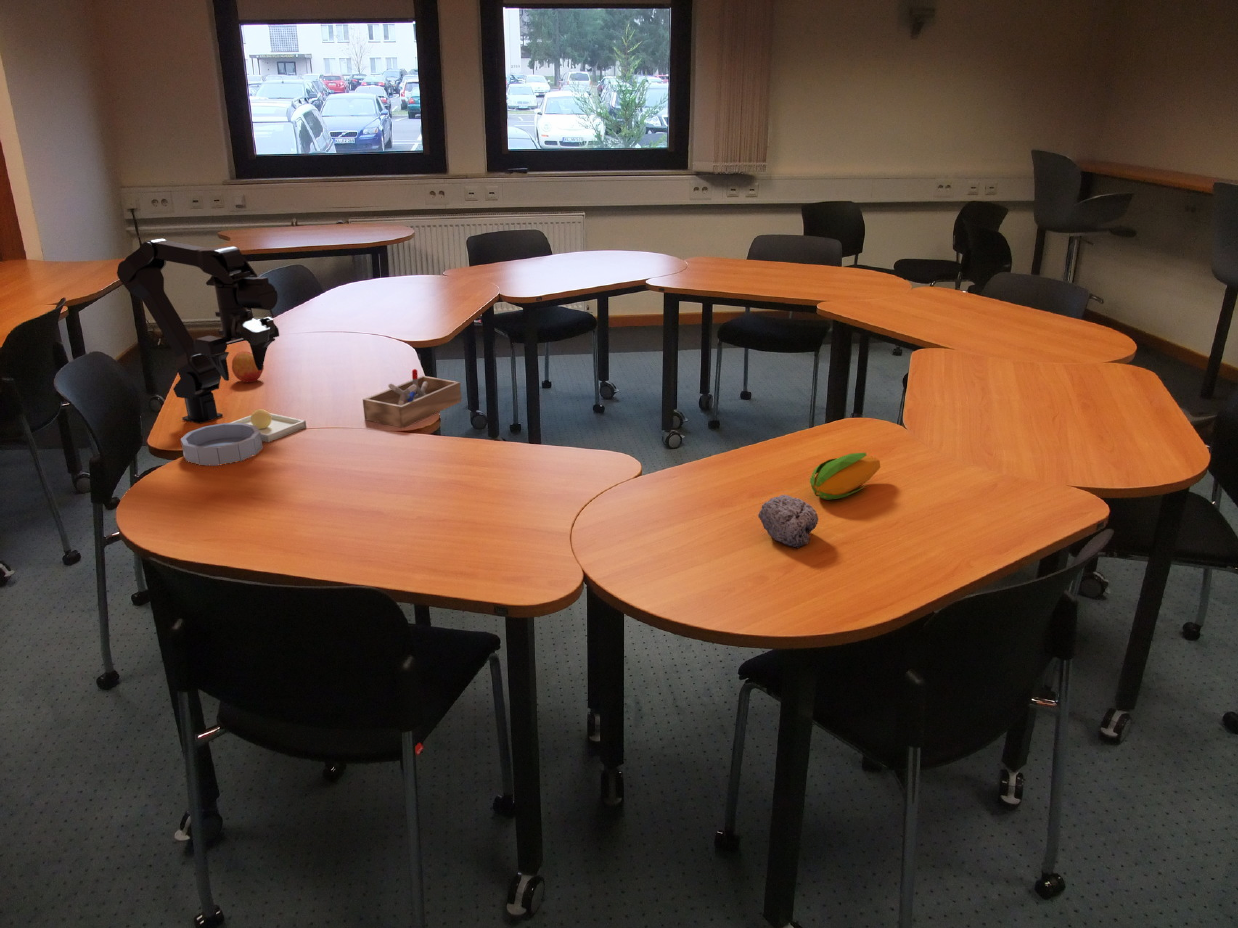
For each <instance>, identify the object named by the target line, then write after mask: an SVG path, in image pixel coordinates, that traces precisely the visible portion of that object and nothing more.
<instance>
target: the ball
mask: <svg viewBox="0 0 1238 928" xmlns="http://www.w3.org/2000/svg"><path fill="white" fill-rule="evenodd" d="M270 413H271V412H269V411H267V410H265V409H260V408H259V409H256V410H254V411H253V413H252V414H251V423H252V424H253V425H254V426H256V427H257V428H259V429H264V428H267V427H268V426H269V425H270V424H271V421H272V418H271V415H270Z"/></svg>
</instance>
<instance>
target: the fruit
mask: <svg viewBox="0 0 1238 928" xmlns="http://www.w3.org/2000/svg"><path fill="white" fill-rule="evenodd" d="M264 367H265V366H264V364H263V368H262V370H258V369H257V367H256V364H255V361H254V358H253V354H252V352H250V351H239V352H238V353H236V354H235V355H234V356H233V359H232V361H231V370H232V373H233V375H234V376H235V378H236V379H238V381H241V382H243V383H247V384H249V383H253V382H257V380H259V379H260V378H261V376H262V373H263V371H264V370H265V369H264Z"/></svg>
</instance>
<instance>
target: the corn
mask: <svg viewBox="0 0 1238 928" xmlns="http://www.w3.org/2000/svg"><path fill="white" fill-rule="evenodd" d="M880 469H881V462H880V459H878V458H876V457H874V456H872V455H869V456H867V453H866V452H853V453H848V454H846V455H842V456H840V457H837V458H830V459H827V460H825V461H824V462H822V463H820V464H819V465H817V466H816V467H815V468H814V470H813V472H812V474H811V476H810V479H809V484H810V485H811V486H810V487H811V489H812V491H813V493H814V495H815V496H816V497H820V498H821V499H823V500H826V501H828V500H829V501H830V500H837V499H841V498H846V497H848V496H850V495H852V494H855V493H857V492H859V491H860V490H862V489H864V488H865V487H867V486H868V484H866V485H864V484H865V483H867V482H868V481H869V480H871V478H873V477H874V476H875V474H876V473H877V472H878V471H879V470H880ZM862 485H864V486H862Z"/></svg>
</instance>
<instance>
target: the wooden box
mask: <svg viewBox="0 0 1238 928" xmlns="http://www.w3.org/2000/svg"><path fill="white" fill-rule="evenodd" d="M423 382H427V383H428V385H427V388H426V391H425V394H427V395H425V396H423V397H420V398H418V399H416V400H413V401H411V402H408V400H407V399H405V401H404V405H398V402H399V399H400V395H399V394H398V393H396V392H395V391H393V390H392V389H390V388H388V389H385V390H383V391H380V392H377V393H375V394H373V395H370V396H368V397H366V398H363V399H362V404H363V405H362V406H363V415H364V420H365V421H369V422H375V423H378V424H382V425H387V426H394V427H398V428H402V429H405V428H406V427H408V426H411V425H413V424H415V423H417V422H420V421H422V420H424V419H425V418H426V419H427V418H428V417H431V416H433V415H435V414H437V413H439V412H441V411H443V410H446V409H449V408H451V407H452V406H455V405H457V404H459V403H462V393H461V392H462V391H461V382H460V381H455V380H449V379H443V378H438V377H432V376H428V375H427V376H426V375H421V376H418V386H419V388H420V389H421V387H422V384H423ZM412 385H413V379H411V380H408V381H406V382H404V383H401V384H398V385H396V386H397V387H398V388H400V389H401V390H403V391H404V390H406V389H407V388H409V387H410V386H412ZM409 394H410V393H409ZM417 394H418V393H417V392H416V393H415V395H417Z"/></svg>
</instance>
